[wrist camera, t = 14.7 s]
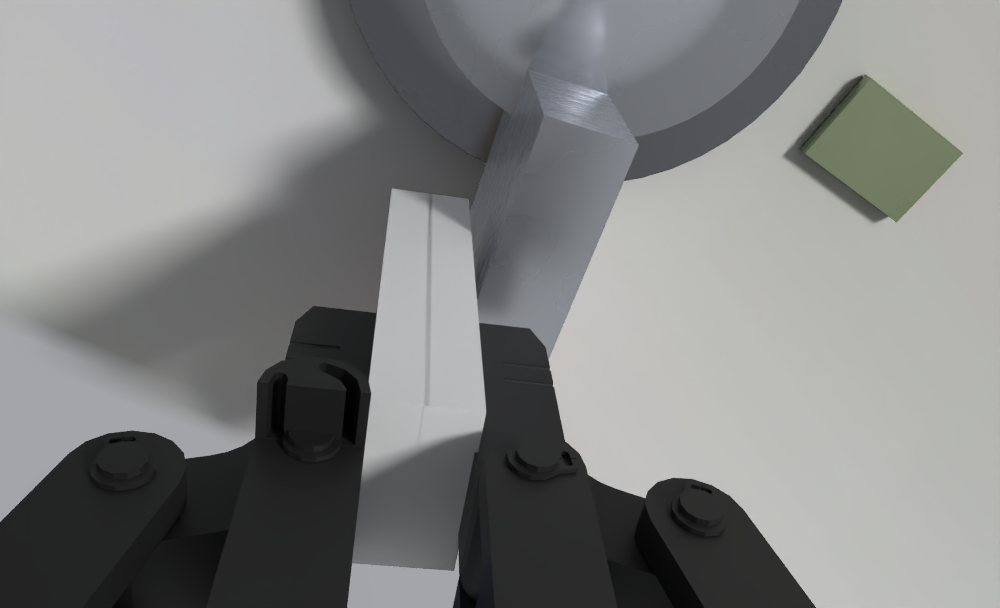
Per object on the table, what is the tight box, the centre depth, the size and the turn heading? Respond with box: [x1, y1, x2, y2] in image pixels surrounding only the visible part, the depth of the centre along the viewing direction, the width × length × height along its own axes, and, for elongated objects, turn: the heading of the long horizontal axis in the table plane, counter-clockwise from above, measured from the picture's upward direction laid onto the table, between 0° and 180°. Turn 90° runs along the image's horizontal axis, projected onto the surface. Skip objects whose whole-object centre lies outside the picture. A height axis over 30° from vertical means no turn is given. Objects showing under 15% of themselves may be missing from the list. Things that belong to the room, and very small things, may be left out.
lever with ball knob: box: [425, 0, 799, 360], centre depth 15 cm, size 13×7×5 cm, turn 162°
